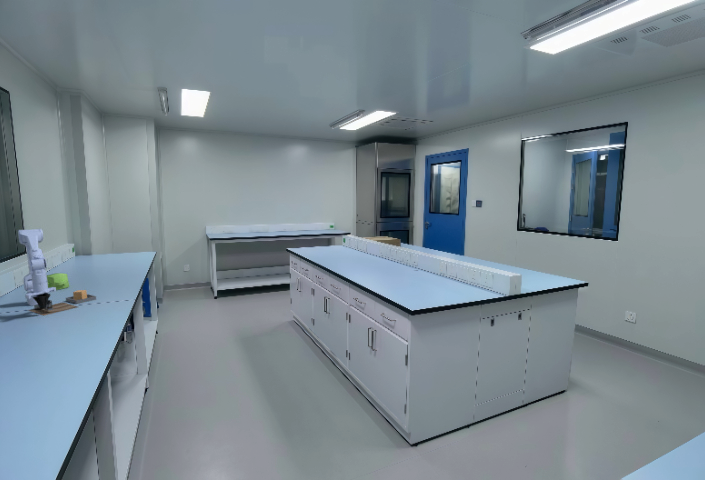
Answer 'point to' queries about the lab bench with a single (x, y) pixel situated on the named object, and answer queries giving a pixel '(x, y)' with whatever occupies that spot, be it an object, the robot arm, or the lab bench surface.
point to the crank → (48, 306)
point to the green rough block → (58, 281)
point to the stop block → (80, 294)
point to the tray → (89, 298)
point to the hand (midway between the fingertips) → (43, 308)
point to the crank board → (54, 309)
